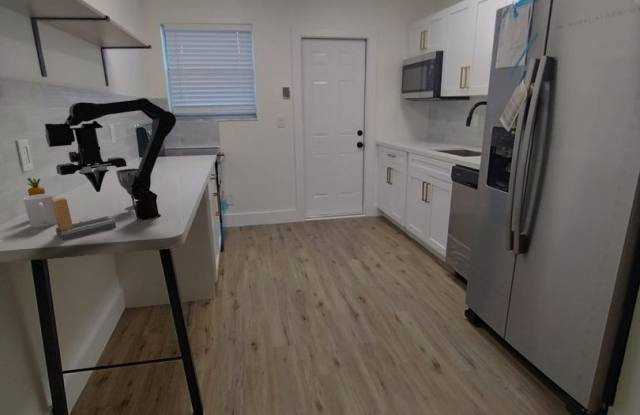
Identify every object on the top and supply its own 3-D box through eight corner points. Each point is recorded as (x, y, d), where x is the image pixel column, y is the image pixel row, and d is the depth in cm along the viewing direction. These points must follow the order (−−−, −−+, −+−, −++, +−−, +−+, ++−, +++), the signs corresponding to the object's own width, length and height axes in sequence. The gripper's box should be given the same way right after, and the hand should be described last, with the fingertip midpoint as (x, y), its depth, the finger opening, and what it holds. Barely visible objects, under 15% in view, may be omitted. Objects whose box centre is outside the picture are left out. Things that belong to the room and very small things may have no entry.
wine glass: (118, 210, 145) (111, 172, 141) (134, 204, 152) (127, 168, 148) (135, 210, 142) (128, 172, 138) (149, 205, 150) (143, 168, 146)
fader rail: (107, 222, 129) (106, 215, 128) (116, 227, 123) (114, 219, 123) (56, 234, 118) (55, 226, 118) (63, 240, 113) (61, 232, 112)
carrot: (54, 214, 141) (44, 176, 137) (41, 218, 137) (31, 178, 133) (44, 214, 143) (34, 176, 139) (31, 218, 138) (20, 178, 134)
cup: (58, 219, 135) (52, 192, 133) (61, 226, 126) (54, 198, 124) (30, 224, 130) (22, 196, 128) (31, 232, 121) (23, 202, 119)
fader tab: (70, 227, 120) (63, 197, 117) (75, 230, 116) (67, 199, 113) (57, 230, 117) (49, 199, 114) (61, 233, 114) (53, 201, 111)
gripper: (111, 139, 129) (119, 183, 133) (46, 145, 116) (58, 194, 120) (122, 141, 122) (131, 187, 126) (55, 147, 109) (67, 199, 113)
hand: (98, 191), depth 121 cm, fingers closed
